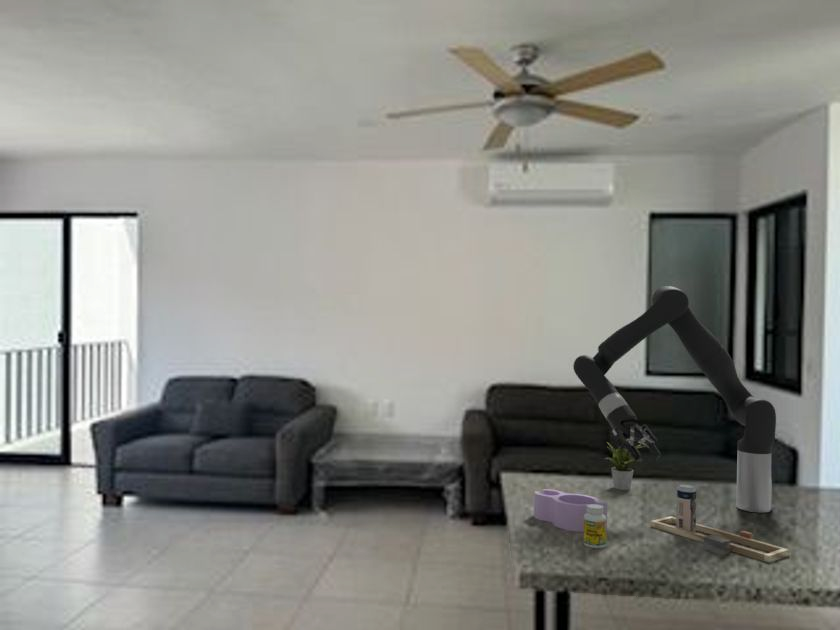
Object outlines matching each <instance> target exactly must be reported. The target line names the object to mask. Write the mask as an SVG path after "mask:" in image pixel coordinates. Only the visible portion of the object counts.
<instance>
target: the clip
mask: <svg viewBox="0 0 840 630" xmlns="http://www.w3.org/2000/svg"><path fill="white" fill-rule="evenodd" d="M533 496H534V498H533V499H534V500H533V502H534V503H533V518H535V519H537V520H539V521H542V522H543V521H545V522H550V523H551V522H552V523H551V524H553V526H554V527H557V528H559V529H561V530H567V531H571V532H583V533H584V515H585V514H586V513H588V512H587V505H589V504H597V505H601V506H603V513H602V514H603V515H605V517H606V528H607V529H608V501H601V499H600V498H598V497H595V496H591V495H587V494H580V493H567V492H564V491H561V490H556V489H549V488H547V489H546V488H545V489H542V493H541V492H540V491H536V490H534V493H533Z"/></svg>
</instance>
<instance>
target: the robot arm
mask: <svg viewBox="0 0 840 630" xmlns="http://www.w3.org/2000/svg"><path fill="white" fill-rule="evenodd" d="M651 299H652V301H651V303H652V305H651V306H650V307H649V308H648V309H647V310H646V311H645V312H643V313H642V314H641V315H640V316H638V317H637V318H635V319H634V320H632V321H631V322H629V323H627V324H626V325H624V326H621V328H619V329H617V330H616V331H615V332H613V333H612V334H610V336H608V337H607V338H606V339H605V340H604V341H602V342H601V343H600V344H599V345H598V347H597V353H596V354H595V355H594V356H593V357H592V356H590V355H587V354H586V355H585V354H584V355H582V354H581V355H579V356H578V357H576V358H575V359H574V362H573V364H572V365H573V366H572V367H573V372H574V373H575V374H576V376H577V378H578V379H579V380H580V382H581V383H582V384H583V385H584V386H585V388H586V389H587V390H588V392H589V394H590V395H591V396H592V398H593V400H594V402H596V404H597V406H598V408H599V409H600V411H601V413H602V414H603V417H604V418H605V419H606V421H607V422H608V424H609V425H610V426H611V429H612V431H610V435H611V436H612V437H613V440H614V441H615V442H616V444H617V446H618V448H619V447H620V450H621V449H623V448H624V449H626V450H627V452H629V453H630V454H631V457H633V459H634V460H635V461H634V462H639V461H641V460H642V457H643V456H642V455H641V452H640V450H638V449H637V448H638V447H637V448H636V445H634V442H635V443H638V444H639V445H643V446H644V447H645V448H647V449H648V451H649V452H650V454H651V455H652V456H653V458H654V459H656V460H657V459H659V458H660V457H661V456H662V453H661V451H660V450H659V448H658V447H657V446H656V443H657V442H658V438H657V437H656V436H655V434H654V432H652V430H651V429H650V428H649V426H648V425H647V424H646V423H644V424H643V425H641V426H640V425H639V424H638V423H637V419H638V418H637V415H636V414H635V413H634V411H633V410H632V408H631V407H630V405H629V404H628V403H627V401H626V399H625V398H624V397H623V396H622V395H621V394H620V393H619V392H618V390H617V389H616V387H615V386H614V384H613V383H612V382H611V381H610V380H609V379H608V378H607V377H606V376H605V375H606V374H607V373H608V371H609V370H610V369H611V368H612V367H613V366H614V364H615V363H616V362H617V361H619V360H620V359H621V358H623V356H625V355H626V354H627V353H629V352H630V351H631V350H632V349H634V347H635V348H636V346H637V345H639V344H640V343H641V342H642V341H643V340H645V339H647V337H649V336H650V335H652V334H653V333H655V332H656V331H658V330H659V329H661V328H663V327H664V326H665V325H669V327H671V328H672V330H673V331H674V332H675V334H676V335H677V337H678V338H679V340H680V342H681V343H682V345H683V347H684V349H686V351H687V353H688V354H689V355H690V357H691V359H692V360H693V362H694V363H695V364H696V366H697V368H698V369H700V371H701V373H703V374H704V375H705V377H706V378H707V380H708V381H709V382H710V384H711V385H712V386H713V387H714V388H715V389H716V391H717V392H718V393H719V394H720V396H721V398H722V399H723V401H724V403H726V406H727V408H728V410H729V411H730V413H731V414H732V416H733V417H734V419H735V420H736V421H737V422H738V423H739V424H740V425H741V426H744V431H743V432H744V433H743V434H744V435H743V437H742V438H741V439H738V440H737V445H736V446H737V447H736V449H737V451H736V452H737V458H736V459H737V460H736V463H737V464H736V500H735V501H736V502H735V503H736V506H735V507H736V508H737V509H740V510H741V511H746V512H750V513H751V512H752V513H759V514H761V513H770V512H771V509H772V493H773V492H772V488H773V487H772V481H773V479H772V450H773V445H774V444H775V440H776V428H777V414H776V408H775V407H774V405H773V404H772V403H771V402H770V401H769V400H766V399H764V398H759V397H756V396H753V394H752V393H751V392H750V391H748V389H747V388H746V387H745V386H744V384H743V383H742V382H741V380H740V379H739V376H738V373H737V370H736V366H735V363H734V361H733V358H732V357H731V355H730V353H729V352H728V351H727V350H726V348H725V347H724V345H723V344H722V343H721V342H720V341H719V340H718V338H716V336H715V335H714V334H712V332H711V331H710V330H708V328H707V327H705V326H704V325H703V324H702V323H701V322H700V321H699V320H698V318H696V316H695V315H694V313H693V312H692V310H691V309H690V307H689V303H690V301H689V297H688V295H687V294H686V293H685V292H684V291H683V290H682V289H680V288H678V287H675V286H672V285H671V286H670V285H667V286H666V285H665V286H661V287H658V288H657V289H656V290H655V291H654V293H653V295H652V297H651ZM621 441H622V442H621ZM629 453H628V454H629Z"/></svg>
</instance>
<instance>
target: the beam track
mask: <svg viewBox="0 0 840 630" xmlns="http://www.w3.org/2000/svg"><path fill="white" fill-rule="evenodd" d="M672 524H673V525H672ZM676 524H677V516H676V517H675V516H670V515H669V516H666V517H662V518H657V519H654V520H650V527H651V528H655V529H658V530H661V531H665V532H668V533H671V534H674V535H678V536H681V537H684V538H686V539H687V538H688V539H690V538H691V540H693V539H694V541H697V540H698V541H697V542H700V541H701V542H700V543H703V542H704V543H703V550H705V551H708V550H709V551H708V552H710V553H711V552H712V553H715V554H718V555H721V556H725V555H728V554H730V552H734V553H737V554H740V555H744V556H747V557H749V558H753V559H756V560H759V561H763V562H765V563H766V562H767V563H772V562H775V561H778V560H781V559H783V558H787V557H789V556H790V549H789V548H786V547H782V546H777V545H774V544H772V543H768V542H764V541H760V540H757V539H753V532H749V531H747V530H746V531H745V530H742V531H739V534H737V533H732V532H729V531H725V530H722V529H717V528H714V527H711V526H707V525H704V524H701V523H697V522H696V531H697V532H696V531H695V532H692V531H688V530H685V529H682V528H678V527H676ZM674 525H675V526H674ZM700 531H701V532H700ZM698 532H700V533H698ZM703 532H704V533H703ZM702 533H703V534H702ZM707 533H708V535H704V534H707ZM710 534H711V535H710ZM732 542H735V543H738V544H735V543H732ZM739 544H742V545H744V546H742V545H739ZM746 546H749V547H752V548H753V549H752V548H749V547H746ZM755 548H756V549H759V550H755ZM760 550H763V551H766V552H769V553H765V552H763V551H760Z"/></svg>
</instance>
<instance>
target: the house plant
mask: <svg viewBox="0 0 840 630" xmlns="http://www.w3.org/2000/svg"><path fill="white" fill-rule="evenodd" d="M607 444H608V446H609V447H608V450H610V452H611V453H612V457H605V458H604V460H610V462H612V464H614V467H611V475H612V481H613V488H614V489H616V490H621V491H629V490H631V486H632V482H633V481H632V480H633V477H634V476H633V475H634V469H632V468H630V467H629V465H630V463H632V462H636V461H635V460H634V458H633V457H632V456H631V454H630V453H629V451H627V450H626V449H624V448H623V449H621V448H620V447H619V446H618V448H616V449H615V448H614V446H613V445H611V444H610V443H609V442H607ZM635 447H636V448H637V450H638V449H640V447H642V444H638V445H635ZM638 462H639V463H641V460H639V461H638ZM632 465H634V463H633V464H632ZM632 465H631V466H632Z"/></svg>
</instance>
